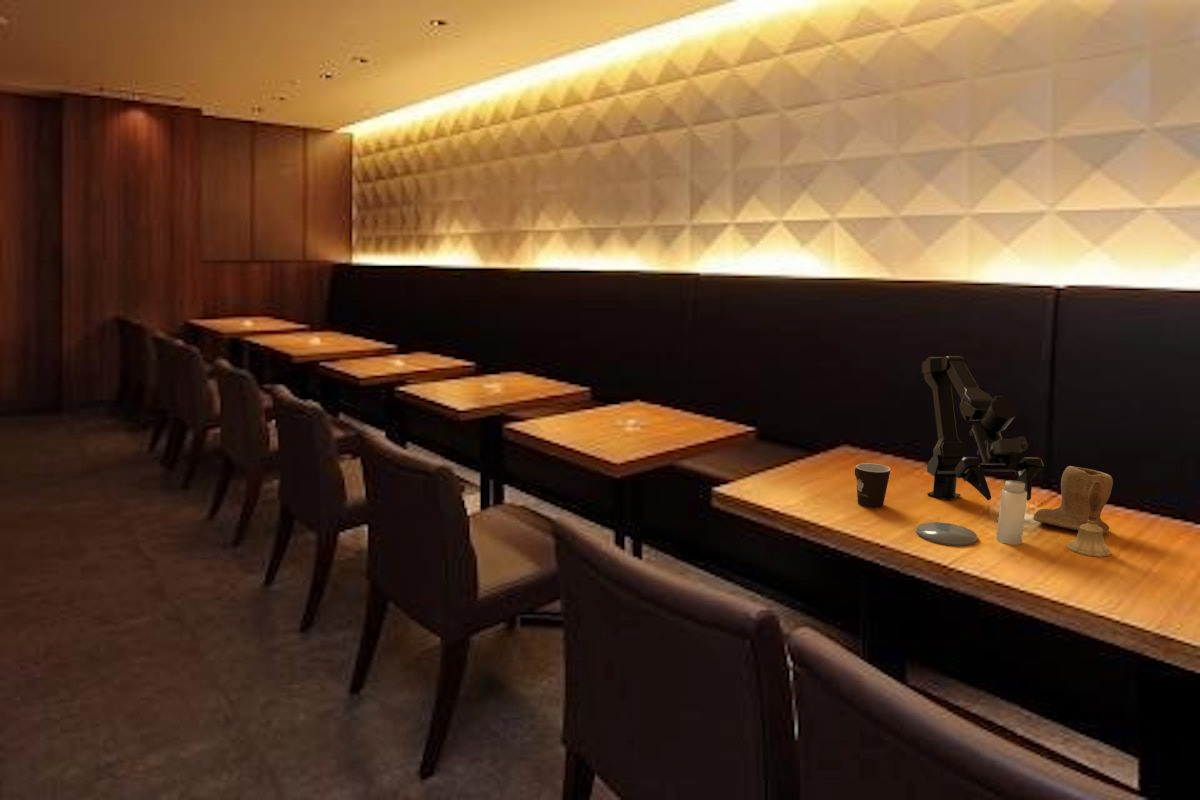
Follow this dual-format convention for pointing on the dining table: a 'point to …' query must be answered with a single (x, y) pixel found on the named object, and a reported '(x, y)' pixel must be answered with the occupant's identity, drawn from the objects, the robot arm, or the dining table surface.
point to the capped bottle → (1012, 512)
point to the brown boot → (1077, 499)
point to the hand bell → (1091, 528)
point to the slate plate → (946, 534)
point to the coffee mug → (871, 484)
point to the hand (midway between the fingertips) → (1009, 499)
